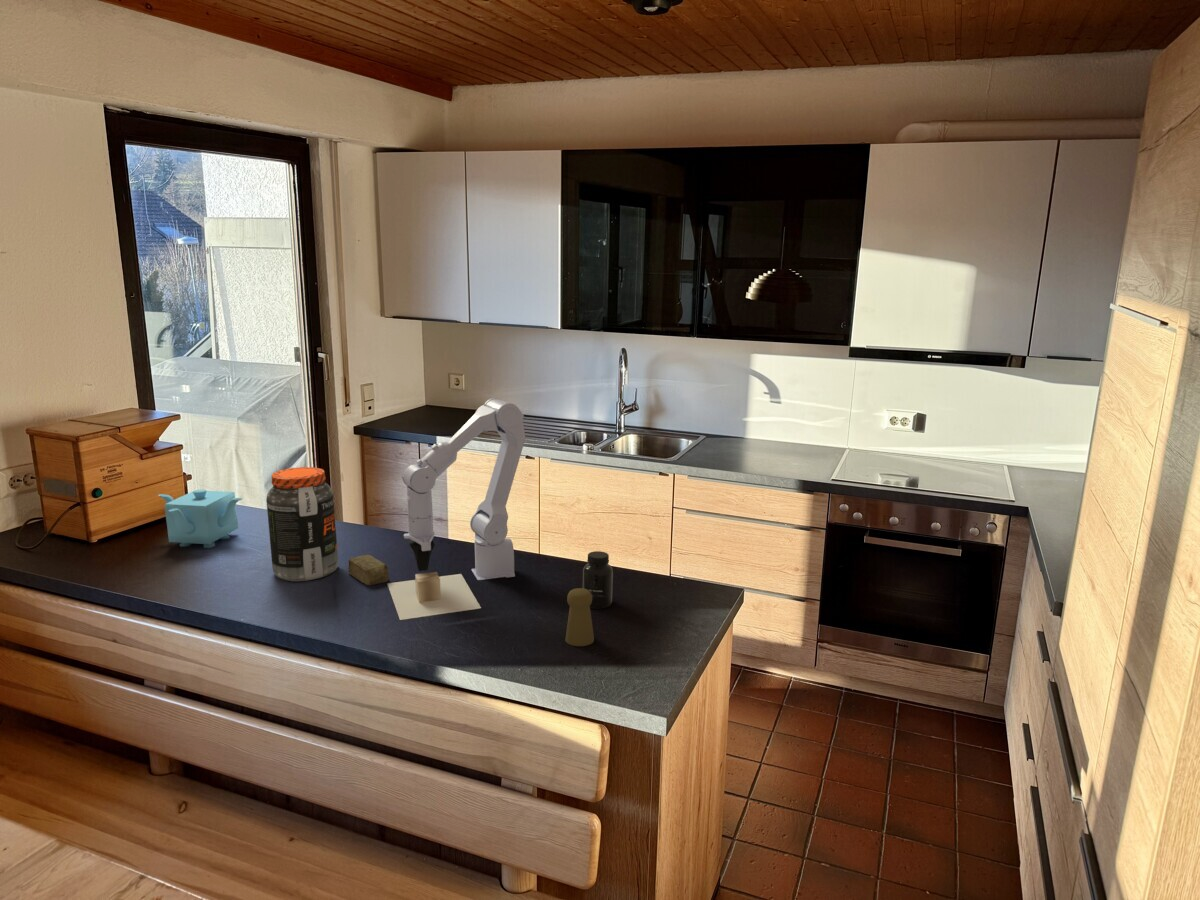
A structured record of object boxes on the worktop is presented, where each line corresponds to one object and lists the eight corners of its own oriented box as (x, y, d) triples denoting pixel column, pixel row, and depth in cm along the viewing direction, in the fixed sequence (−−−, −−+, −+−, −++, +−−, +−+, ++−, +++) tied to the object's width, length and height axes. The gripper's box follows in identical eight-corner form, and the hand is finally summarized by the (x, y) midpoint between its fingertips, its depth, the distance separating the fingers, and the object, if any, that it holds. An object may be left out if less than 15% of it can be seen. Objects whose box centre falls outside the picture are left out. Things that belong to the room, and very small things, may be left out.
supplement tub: (340, 579, 208) (333, 477, 202) (272, 587, 203) (263, 483, 197) (337, 557, 222) (330, 462, 216) (273, 564, 217) (264, 467, 211)
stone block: (369, 589, 202) (367, 569, 201) (347, 576, 210) (345, 557, 209) (390, 583, 206) (389, 564, 205) (368, 570, 214) (367, 552, 213)
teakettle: (230, 526, 247) (225, 478, 244) (249, 543, 232) (244, 492, 229) (159, 539, 236) (153, 489, 232) (174, 558, 221) (167, 504, 218)
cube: (436, 571, 198) (439, 579, 193) (437, 591, 199) (440, 599, 194) (415, 574, 196) (417, 581, 192) (416, 594, 197) (418, 602, 193)
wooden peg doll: (564, 633, 179) (564, 585, 176) (593, 632, 179) (593, 584, 177) (566, 646, 173) (565, 596, 170) (595, 645, 173) (595, 595, 171)
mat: (461, 576, 210) (461, 573, 210) (481, 610, 190) (481, 608, 190) (387, 585, 204) (387, 583, 204) (400, 622, 184) (399, 619, 184)
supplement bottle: (590, 611, 189) (591, 561, 187) (577, 601, 195) (577, 552, 193) (617, 606, 193) (618, 556, 190) (603, 595, 198) (604, 547, 196)
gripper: (398, 508, 203) (401, 561, 206) (407, 526, 190) (410, 582, 193) (428, 505, 206) (430, 558, 209) (438, 523, 193) (441, 578, 196)
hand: (422, 569), depth 201 cm, fingers closed
